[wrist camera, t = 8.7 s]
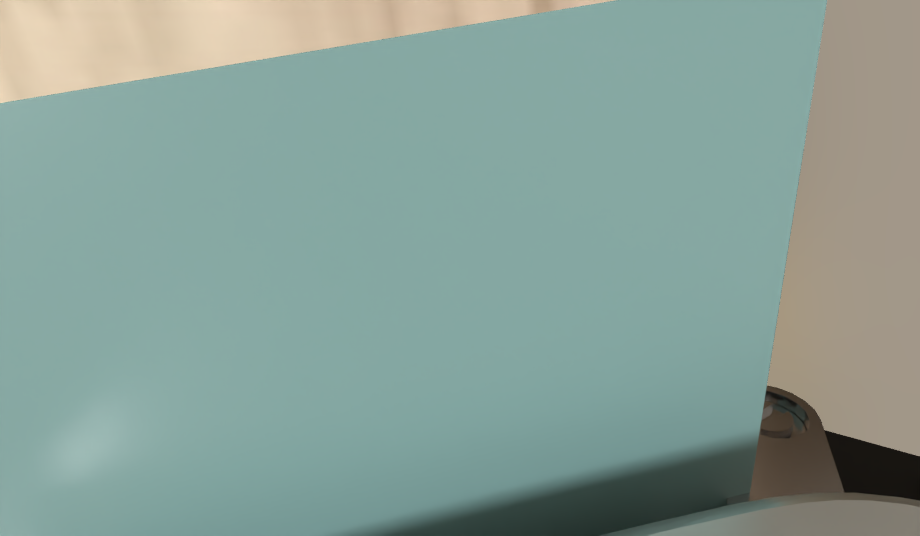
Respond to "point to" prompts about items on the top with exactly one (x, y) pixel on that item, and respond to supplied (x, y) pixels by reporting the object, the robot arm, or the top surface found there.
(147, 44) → the top surface
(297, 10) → the top surface
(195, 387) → the teal rectangular block
